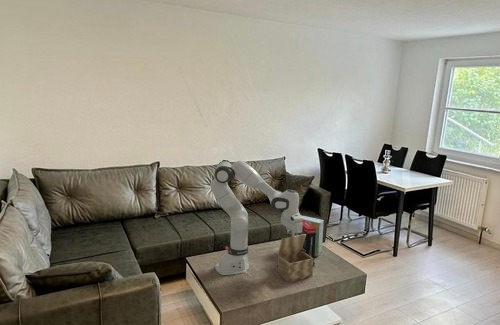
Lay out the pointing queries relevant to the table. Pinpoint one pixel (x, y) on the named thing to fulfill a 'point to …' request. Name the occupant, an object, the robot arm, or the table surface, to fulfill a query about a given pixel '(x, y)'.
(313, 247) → the graphics card box
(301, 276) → the carton
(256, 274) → the table surface
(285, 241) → the carton lid
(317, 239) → the snack box
